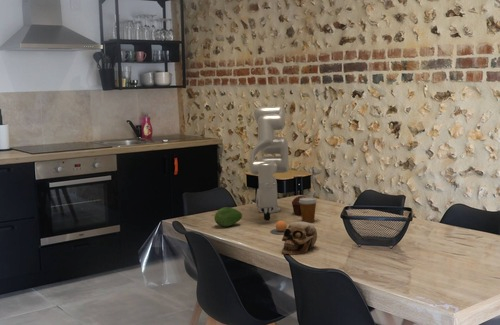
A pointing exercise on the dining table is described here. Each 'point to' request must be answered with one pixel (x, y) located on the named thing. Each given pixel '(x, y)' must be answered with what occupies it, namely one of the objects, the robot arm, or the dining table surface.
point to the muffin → (297, 205)
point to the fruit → (227, 216)
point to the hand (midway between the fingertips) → (267, 220)
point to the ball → (281, 226)
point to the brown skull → (299, 238)
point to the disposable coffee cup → (307, 208)
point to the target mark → (277, 232)
